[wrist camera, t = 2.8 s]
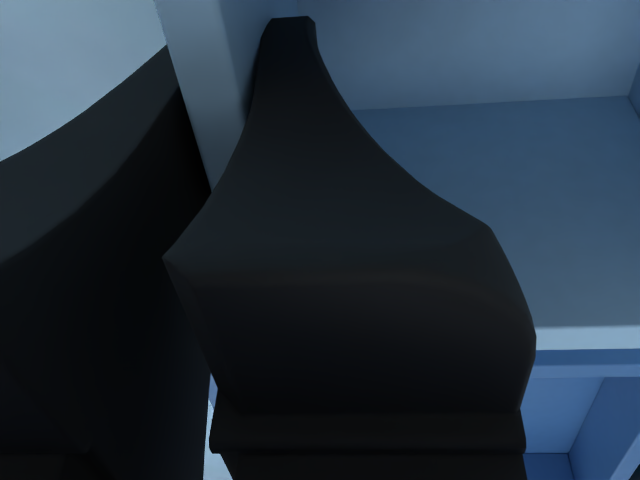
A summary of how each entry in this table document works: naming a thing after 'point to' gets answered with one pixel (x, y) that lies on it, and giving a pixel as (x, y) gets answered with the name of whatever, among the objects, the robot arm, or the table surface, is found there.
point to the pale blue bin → (470, 126)
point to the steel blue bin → (578, 414)
